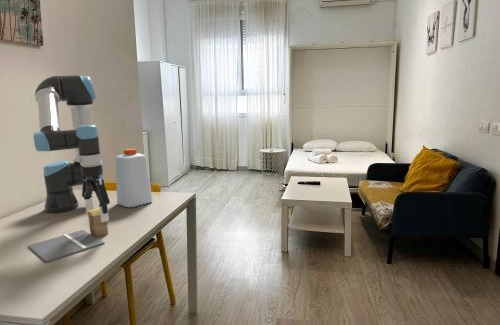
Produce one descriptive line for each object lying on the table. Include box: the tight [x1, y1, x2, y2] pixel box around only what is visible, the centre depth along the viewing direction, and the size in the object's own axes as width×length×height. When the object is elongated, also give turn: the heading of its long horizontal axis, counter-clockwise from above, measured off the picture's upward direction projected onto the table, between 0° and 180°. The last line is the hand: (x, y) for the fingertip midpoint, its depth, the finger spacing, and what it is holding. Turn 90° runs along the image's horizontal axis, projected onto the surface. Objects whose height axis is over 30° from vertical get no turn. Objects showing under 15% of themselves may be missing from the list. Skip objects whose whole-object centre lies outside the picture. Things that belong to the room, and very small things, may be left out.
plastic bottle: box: [115, 148, 153, 209], centre depth 183 cm, size 15×15×28 cm
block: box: [87, 207, 109, 238], centre depth 144 cm, size 5×5×10 cm
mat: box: [27, 229, 105, 263], centre depth 135 cm, size 20×20×1 cm
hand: (97, 217), depth 143 cm, fingers open, 13 cm apart
